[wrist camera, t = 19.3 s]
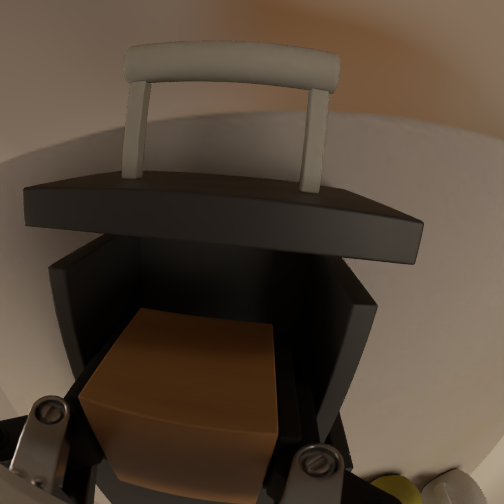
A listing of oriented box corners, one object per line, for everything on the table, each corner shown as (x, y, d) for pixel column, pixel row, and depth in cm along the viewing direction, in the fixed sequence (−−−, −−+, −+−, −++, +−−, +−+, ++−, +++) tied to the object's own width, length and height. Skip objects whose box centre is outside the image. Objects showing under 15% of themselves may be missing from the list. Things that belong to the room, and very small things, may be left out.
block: (140, 306, 9) (76, 396, 5) (272, 323, 9) (279, 434, 5) (152, 396, 11) (119, 480, 6) (257, 411, 11) (255, 505, 6)
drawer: (134, 81, 12) (41, 35, 5) (354, 95, 12) (436, 46, 5) (138, 372, 18) (96, 457, 11) (301, 392, 18) (313, 489, 11)
